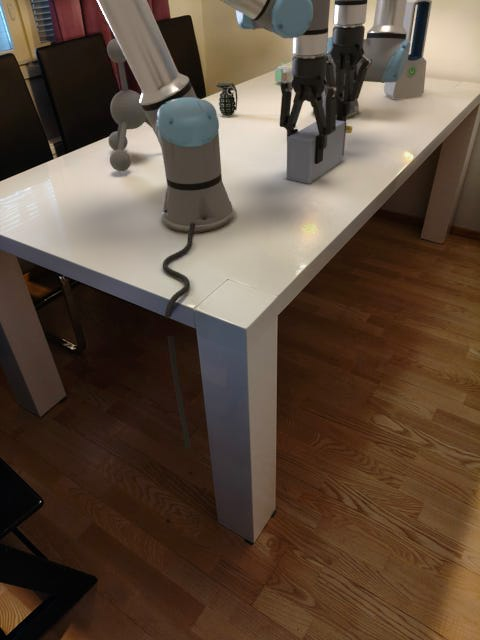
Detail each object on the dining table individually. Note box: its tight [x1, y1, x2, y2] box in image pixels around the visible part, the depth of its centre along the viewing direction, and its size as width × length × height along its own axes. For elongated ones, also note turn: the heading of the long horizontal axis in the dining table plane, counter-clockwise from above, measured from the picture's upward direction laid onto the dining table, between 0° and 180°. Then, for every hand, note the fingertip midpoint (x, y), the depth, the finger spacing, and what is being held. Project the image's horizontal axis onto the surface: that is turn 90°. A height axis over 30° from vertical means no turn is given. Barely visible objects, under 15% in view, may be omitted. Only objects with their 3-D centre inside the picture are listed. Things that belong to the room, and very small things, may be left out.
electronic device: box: [383, 0, 433, 100], centre depth 169 cm, size 12×8×30 cm, turn 105°
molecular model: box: [106, 37, 152, 172], centre depth 131 cm, size 24×22×30 cm
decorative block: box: [274, 61, 293, 83], centre depth 206 cm, size 26×6×20 cm
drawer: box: [342, 121, 353, 157], centre depth 126 cm, size 22×5×8 cm, turn 144°
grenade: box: [215, 82, 238, 117], centre depth 166 cm, size 7×6×10 cm
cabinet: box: [286, 119, 345, 185], centre depth 123 cm, size 18×6×10 cm, turn 144°
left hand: (305, 159), depth 120 cm, fingers closed on cabinet, 6 cm apart
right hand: (340, 127), depth 130 cm, fingers closed
